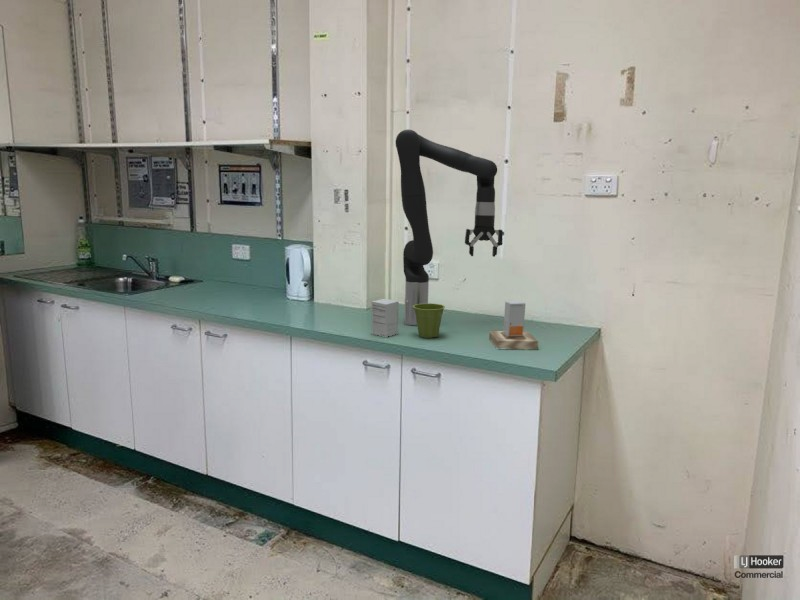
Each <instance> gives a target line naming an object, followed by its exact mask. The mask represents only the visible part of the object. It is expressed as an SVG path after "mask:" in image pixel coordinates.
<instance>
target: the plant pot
mask: <svg viewBox="0 0 800 600" xmlns="http://www.w3.org/2000/svg"><path fill="white" fill-rule="evenodd" d="M413 308H414V310H415V314H416V320H417V325H416V327H417V330H418V336H419V337H421V338H423V337H425V339H426V338H427V339H431V338H438V337H439V333H440V328H441V322H442V315H443V314H444V309H446V306H445V305H443V304H440V303H431V302H428V303H424V304H416V305H413Z"/></svg>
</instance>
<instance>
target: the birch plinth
mask: <svg viewBox="0 0 800 600" xmlns="http://www.w3.org/2000/svg"><path fill="white" fill-rule="evenodd" d="M488 332H489V334H488V335H489V336H488V337H489V338H488V339H489V341H490V340H491V341H492V342H491V341H490V342H491V344H492V345H493V344H494V345H495V346H496V347H497V348H505V349H538V348H539V340H537V338H535V337H534V336H533V335H532V334H531V333H530V332H529V331H528V330H523V336H514V337H507V336H506V335H504V334H503V330H489V331H488ZM494 345H493V346H494ZM495 346H494V347H495ZM496 347H495V348H496ZM538 350H539V349H538Z"/></svg>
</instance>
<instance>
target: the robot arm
mask: <svg viewBox="0 0 800 600" xmlns="http://www.w3.org/2000/svg"><path fill="white" fill-rule="evenodd" d="M395 147H396V151H397V157H398V160H399V165H400V192H401V204H402V208H403V212H404V214H405V215H404V216H405V218H406V220H407V221H408V224H409V225H410V228H411V231H412V240H409V241H407V243H406V244H405V245H404V249H403V255H402V256H403V258H402V260H403V262H402V263H403V264H402V265H403V274H404V277H405V285H404V286H405V287H404V288H405V290H404V292H405V294H404V312H403V313H404V314H403V315H404V316H403V318H404V319H403V320H404V325H409V326H417V320H416V314H415V310H414V308H413V305H416V304H424V303H429V286H430V285H429V282H430V280H429V279H430V278H429V277H430V276H429V274H428V272H427V271H426V270H425V267H424V266H426V265H428V264H430V263H431V262H432V259H433V258H434V257H433V255H434V247H433V242H432V238H431V232H430V228H429V227H430V226H429V219H428V210H427V197H426V196H427V195H426V187H425V183H424V178H423V175H422V171H421V164H420V161H421V160H420V159H421V158H420V157H423V158H426V159H431V160H433V161H435V162H438V163H439V164H441V165H444V166H446V167H449V168H451V169H454V170H457V171H460V172H463V173H467V174H468V173H469V174H471V175H474V176H475V177H476V186H477V187H476V195H475V196H476V198H475V199H476V202H475V208H474V227H473V229H469V228H466V229H465V237H464V245H466V246H468V247H469V251H468V253H469V255H470V257H474V248H475V247H474V245H475V244H476V243H477V242H478V241H479V242H481V241H485V242H487V241H490V243H492V245H493V246H492V255H491V256H492V257H496V256H497V255H498V247H499V246H502V245H503V230H502V229H495V218H496V215H495V214H496V204H495V203H496V189H495V177H496V176H497V173H498V166H497V164H496V163H495V162H494V161H493V160H490V159H487V158H484V157H479V156H476V155H473V154H471V153H468V152H465V151H463V150H459V149H457V148H454V147H450V146H446V145H444V144H440V143H436V142H434V141H432V140H429V139H427V138H425V137H423V136H422V135H420V134H418V133H417V132H416V131H415V130H413V129H403V130H402V131H400V132H399V133H398V134H397V135H396V137H395ZM472 233H473V235H474V237H473V238H472V240H471V241H470V236H472ZM494 235H496V236H497V241H496V240H495V239H494V237H493V236H494Z"/></svg>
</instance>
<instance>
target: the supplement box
mask: <svg viewBox="0 0 800 600" xmlns="http://www.w3.org/2000/svg"><path fill="white" fill-rule="evenodd" d="M399 304H400V303H399V301H398V300H394V299H389V298H382V299H377V300H374V301H373V300H372V301H371V335H373V334H375V335H374V336H377V335H379V336H378V337H381V336H384V337H383V338H388V336H389V337H392V335H393V336H396V335H398V334H399ZM395 334H396V335H395Z"/></svg>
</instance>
